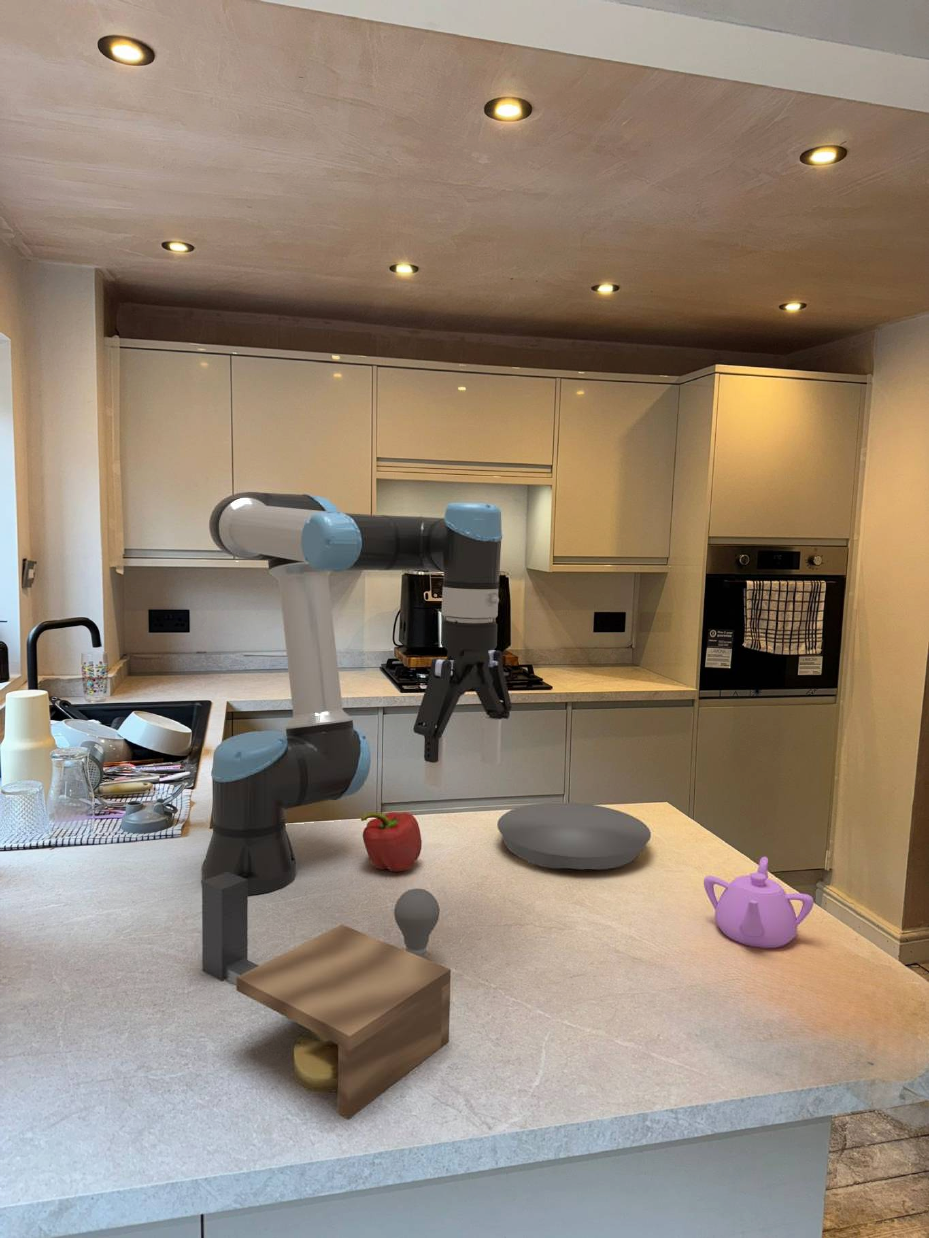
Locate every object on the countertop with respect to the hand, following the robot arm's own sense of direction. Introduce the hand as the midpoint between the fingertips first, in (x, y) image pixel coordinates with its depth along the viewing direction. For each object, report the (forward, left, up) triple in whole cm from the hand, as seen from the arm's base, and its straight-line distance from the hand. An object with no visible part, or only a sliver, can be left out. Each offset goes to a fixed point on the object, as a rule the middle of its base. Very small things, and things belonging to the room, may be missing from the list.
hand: (463, 773), depth 113 cm
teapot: (+31, +30, -25) cm, 50 cm away
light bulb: (-2, -8, -25) cm, 26 cm away
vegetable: (-26, +14, -25) cm, 38 cm away
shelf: (+4, -27, -25) cm, 36 cm away
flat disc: (-6, +42, -25) cm, 50 cm away
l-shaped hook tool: (-11, -25, -24) cm, 36 cm away
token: (+5, -31, -25) cm, 40 cm away
